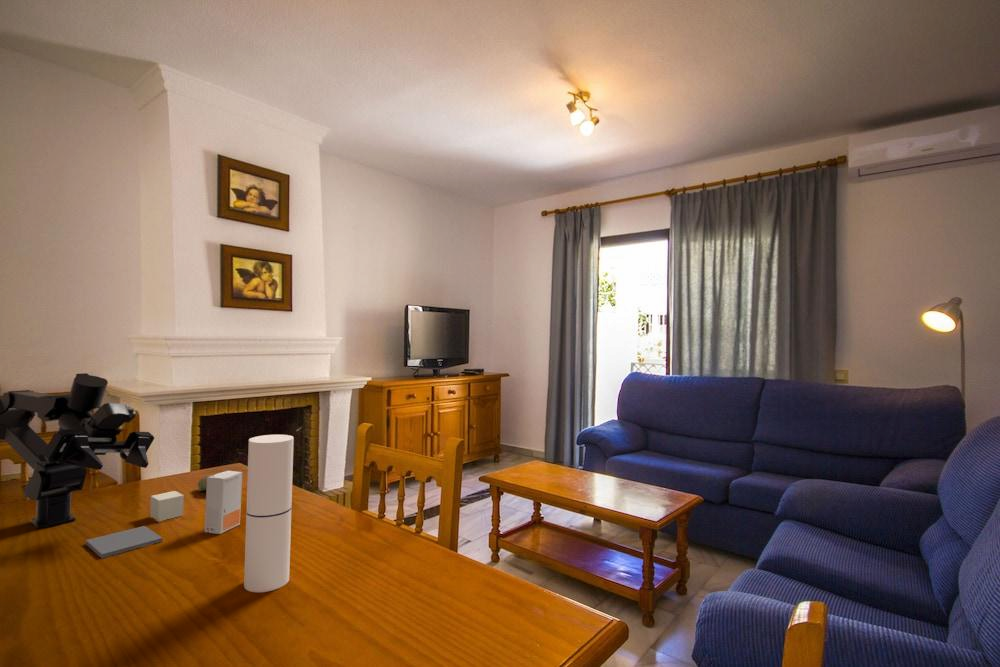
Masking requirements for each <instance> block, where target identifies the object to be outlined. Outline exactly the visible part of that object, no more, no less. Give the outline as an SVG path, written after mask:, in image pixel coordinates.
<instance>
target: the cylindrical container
mask: <svg viewBox="0 0 1000 667" xmlns="http://www.w3.org/2000/svg"><path fill="white" fill-rule="evenodd" d="M294 441H295V439H294V436H293V435H290V434H289V435H288V434H266V435H265V434H264V435H258V436H254V437H250V438H249V439H248V453H247V454H248V455H247V479H246V480H247V485H246V486H247V487H246V512H245V513H246V517H245V544H244V546H245V548H244V574H243V575H244V577H243V587H244V589H245V590H246V591H248V592H250V593H251V592H252V593H266V592H271V591H275V590H277V589H280V588H282V587H284V586H285V585H286V584H288V582H289V581H290V567H291V566H290V562H291V560H290V559H291V538H292V537H291V535H292V534H291V531H292V530H291V529H292V528H291V527H292V506H293V505H292V504H293V503H292V502H293V501H292V500H293V497H292V496H293V471H294V470H293V469H294V468H293V467H294V443H295V442H294Z"/></svg>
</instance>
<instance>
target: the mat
mask: <svg viewBox="0 0 1000 667" xmlns="http://www.w3.org/2000/svg"><path fill="white" fill-rule="evenodd" d="M158 542H160V543H163V537H162V536H160V535H159V534H158V533H156V532H154V531H153V530H152V529H150V528H149V527H147V526H145V525H142V526H139V527H134V528H131V529H125V530H122V531H118V532H113V533H109V534H106V535H102V536H97V537H94V538H89V539H86V540H85V545H86V546H87V547H88V548H89V549H90V550H92V551H93V552H94V553H95V554H96V555H97V557H99V558H100V559H104V558H109V557H113V556H116V555H119V553H120V554H123V553H126V552H125V551H127V552H129V551H128V550H131V551H133V550H132V549H134V550H136V549H135V548H138V549H140V548H139V547H142V548H144V547H143V546H145V547H148V546H147V545H149V546H151V545H150V544H153V545H155V544H154V543H156V544H159V543H158ZM122 552H123V553H122ZM112 555H113V556H112Z"/></svg>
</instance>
